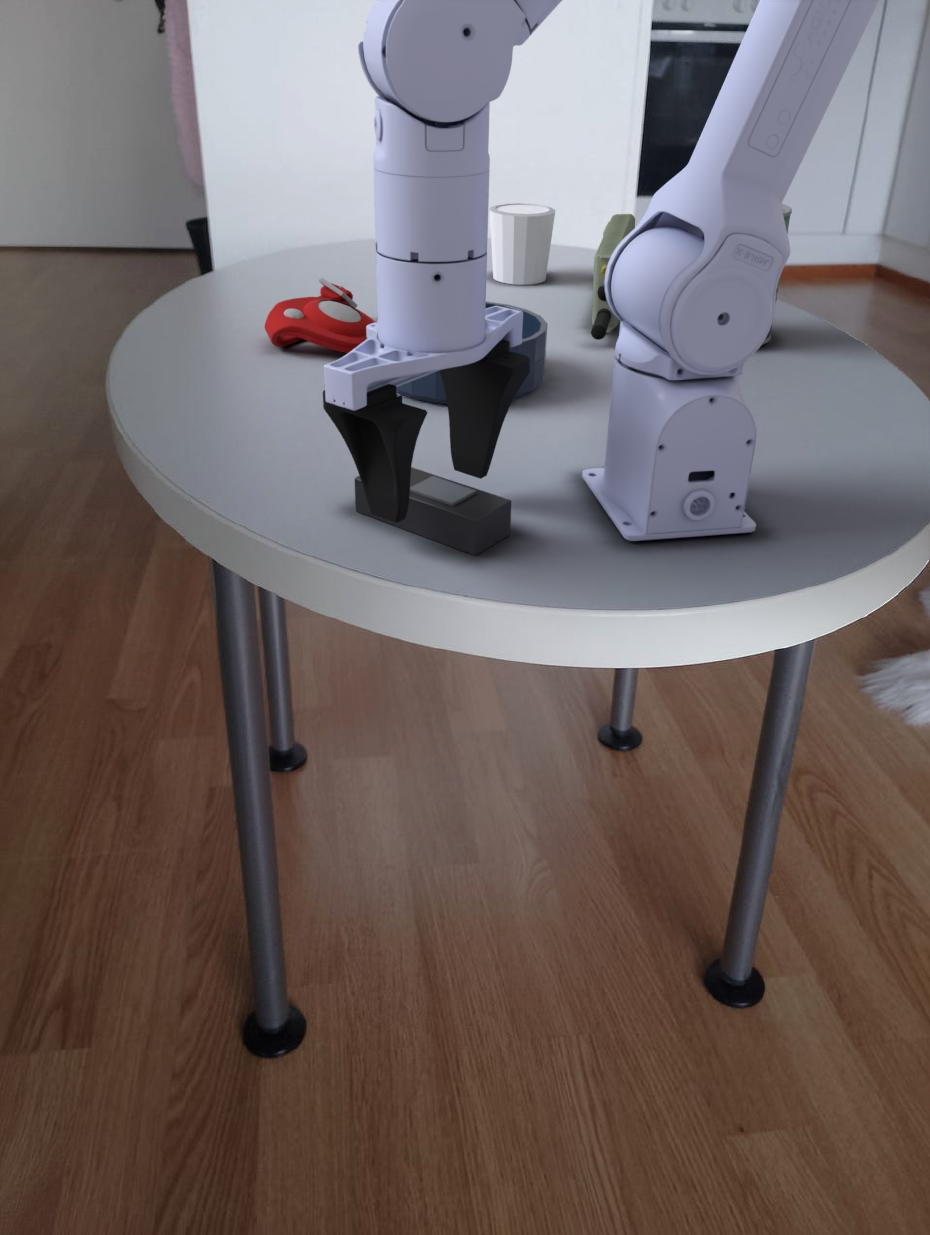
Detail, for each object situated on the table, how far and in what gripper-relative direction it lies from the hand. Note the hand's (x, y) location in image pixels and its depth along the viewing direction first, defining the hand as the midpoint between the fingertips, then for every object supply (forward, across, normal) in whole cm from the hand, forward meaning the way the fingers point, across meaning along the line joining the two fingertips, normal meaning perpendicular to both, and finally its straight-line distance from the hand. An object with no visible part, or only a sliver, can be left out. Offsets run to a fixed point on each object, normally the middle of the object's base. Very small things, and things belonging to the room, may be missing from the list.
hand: (430, 493), depth 61 cm
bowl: (+2, -22, -14) cm, 26 cm away
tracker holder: (+2, -23, -29) cm, 37 cm away
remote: (+2, 0, 0) cm, 2 cm away
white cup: (+2, -51, -29) cm, 59 cm away
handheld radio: (+2, -47, -16) cm, 49 cm away
